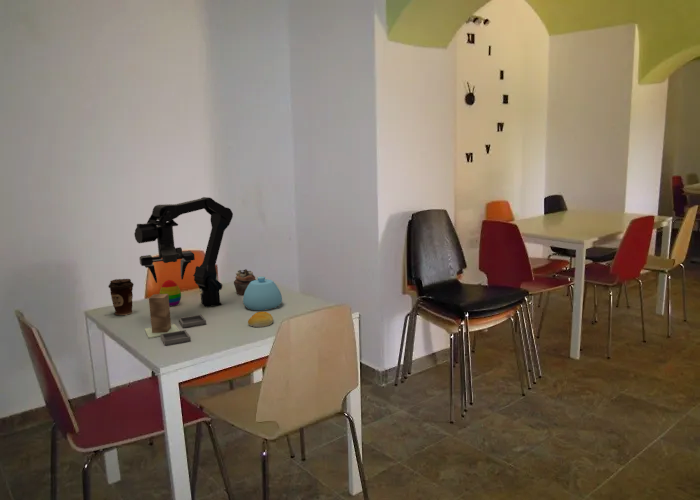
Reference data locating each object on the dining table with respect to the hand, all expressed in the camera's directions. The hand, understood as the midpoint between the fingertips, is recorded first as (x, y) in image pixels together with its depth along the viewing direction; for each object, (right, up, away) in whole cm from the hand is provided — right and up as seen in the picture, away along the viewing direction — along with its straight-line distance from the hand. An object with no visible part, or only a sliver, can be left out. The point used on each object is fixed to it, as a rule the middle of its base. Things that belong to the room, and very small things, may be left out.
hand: (169, 280), depth 208 cm
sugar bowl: (+33, -11, +11) cm, 36 cm away
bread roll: (+36, -15, -11) cm, 40 cm away
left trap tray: (+10, -18, -25) cm, 33 cm away
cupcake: (+23, -7, +31) cm, 39 cm away
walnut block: (+3, -16, -17) cm, 23 cm away
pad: (+3, -16, -17) cm, 24 cm away
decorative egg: (-5, -11, +17) cm, 20 cm away
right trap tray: (+11, -15, -9) cm, 20 cm away
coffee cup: (-19, -13, +6) cm, 24 cm away
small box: (+5, -6, +39) cm, 40 cm away
